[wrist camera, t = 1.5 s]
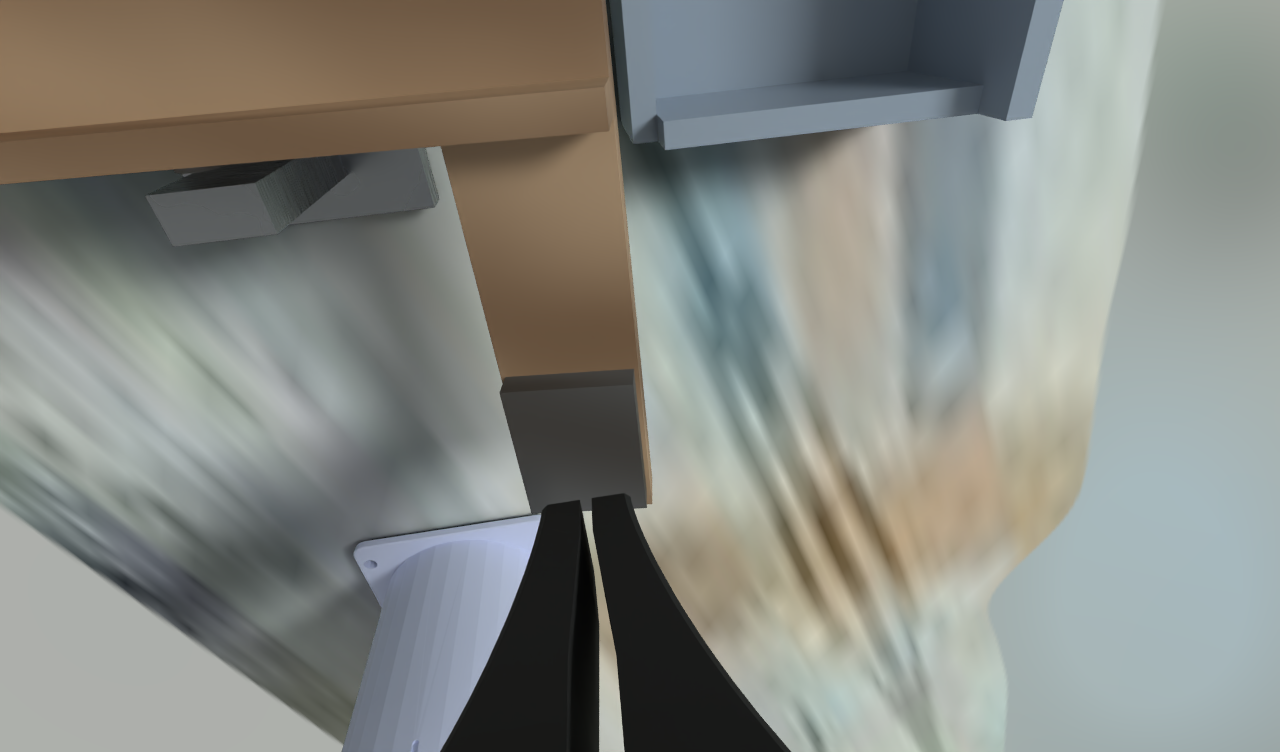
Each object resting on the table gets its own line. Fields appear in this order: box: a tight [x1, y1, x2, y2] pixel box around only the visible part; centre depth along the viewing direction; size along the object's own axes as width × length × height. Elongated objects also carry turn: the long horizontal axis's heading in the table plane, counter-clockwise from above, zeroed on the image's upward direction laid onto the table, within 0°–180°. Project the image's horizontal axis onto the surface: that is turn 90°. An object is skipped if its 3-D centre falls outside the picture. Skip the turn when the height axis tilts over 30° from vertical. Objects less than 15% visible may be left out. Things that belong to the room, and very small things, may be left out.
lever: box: [0, 0, 652, 514], centre depth 11 cm, size 16×16×3 cm
